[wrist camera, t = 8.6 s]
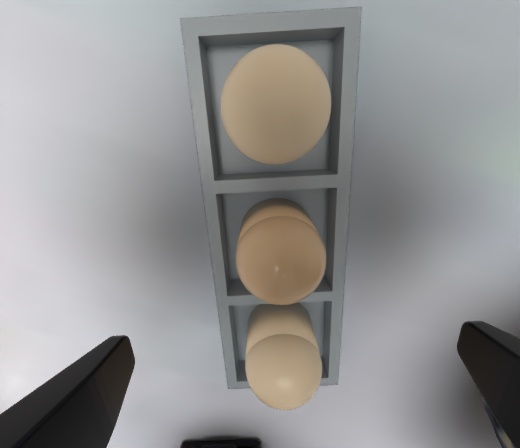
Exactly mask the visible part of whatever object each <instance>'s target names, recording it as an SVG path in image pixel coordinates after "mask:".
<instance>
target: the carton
mask: <svg viewBox="0 0 520 448" xmlns="http://www.w3.org/2000/svg"><path fill="white" fill-rule="evenodd" d="M361 11H362V7H349V8H333V9H318V10H303V11H287V12H272V13H256V14H241V15H226V16H210V17H195V18H180V22H181V30H182V37H183V45H184V53H185V61H186V68H187V76H188V84H189V92H190V99H191V107H192V115H193V122H194V130H195V138H196V146H197V153H198V161H199V169H200V177H201V184H202V192H203V200H204V207H205V215H206V223H207V231H208V238H209V246H210V254H211V262H212V269H213V277H214V285H215V292H216V300H217V308H218V316H219V323H220V331H221V339H222V347H223V354H224V362H225V370H226V377H227V385H228V389H244V388H251V389H252V391H253V392H254V394H255V395H256V396H257V397H258V398H259V399H260V400H261V401H262V402H263V403H265V404H266V405H268V406H270V407H272V408H275V409H278V410H292V409H296V408H299V407H301V406H302V405H304V404H305V403H307V402H308V401H309V400H310V399H311V398H312V397H313V396H314V394H315V393H316V391H317V389H318V387H319V386H323V385H338V376H339V360H340V344H341V328H342V312H343V297H344V281H345V265H346V249H347V233H348V217H349V201H350V185H351V169H352V154H353V138H354V122H355V106H356V90H357V74H358V58H359V42H360V26H361ZM270 198H284V199H288V200H291V201H294V202H295V203H297V204H299V205H300V206H301V207H302V208H303V209H304V210H305V211H306V212H307V214H308V215H309V217H310V219H311V221H312V222H313V224H314V226H315V228H316V230H317V232H318V233H319V235H320V237H321V239H322V241H323V244H324V247H325V251H326V269H325V273H324V276H323V278H322V280H321V282H320V284H319V285H318V287H317V288H316V289H315V290H314V291H313V292H312V293H311V294H310V295H309V296H308V297H306V298H304V299H303V300H301V301H299V302H296V303H293V304H288V305H275V304H270V303H267V302H264V301H262V300H260V299H258V298H257V297H255V296H254V295H253V294H251V293H250V292H249V291H248V290H247V289H246V288H245V286H244V285H243V283H242V281H241V279H240V277H239V275H238V272H237V268H236V249H237V244H238V238H239V233H240V227H241V223H242V220H243V218H244V216H245V215H246V213H247V212H248V211H249V209H250V208H252V207H253V206H254V205H255V204H257V203H259V202H261V201H263V200H266V199H270Z"/></svg>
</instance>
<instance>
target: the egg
mask: <svg viewBox="0 0 520 448" xmlns="http://www.w3.org/2000/svg"><path fill="white" fill-rule="evenodd" d="M236 268H237V272H238V275H239V277H240V279H241V281H242V283H243V285H244V286H245V288H246V289H247V290H248V291H249V292H250V293H251V294H253V295H254V296H255V297H257V298H258V299H260V300H262V301H264V302H267V303H270V304H275V305H288V304H293V303H296V302H299V301H301V300H303V299H304V298H306V297H308V296H309V295H310V294H311V293H312V292H313V291H314V290H315V289H316V288H317V287H318V285H319V284H320V282H321V280H322V278H323V276H324V273H325V269H326V251H325V247H324V244H323V241H322V239H321V237H320V235H319V233H318V232H317V230H316V228H315V226H314V224H313V222H312V221H311V219H310V217H309V215H308V214H307V212H306V211H305V210H304V209H303V208H302V207H301V206H300V205H299V204H297V203H295V202H294V201H291V200H288V199H284V198H270V199H266V200H263V201H261V202H259V203H257V204H255V205H254V206H253V207H252V208H250V209H249V211H248V212H247V213H246V215H245V216H244V218H243V220H242V223H241V227H240V233H239V238H238V244H237V249H236Z"/></svg>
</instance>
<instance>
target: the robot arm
mask: <svg viewBox="0 0 520 448" xmlns="http://www.w3.org/2000/svg"><path fill="white" fill-rule="evenodd" d="M457 350H458V354H459V356H460V358H461V360H462V361H463V363H464V365H465V367H466V368H467V370H468V372H469V374H470V375H471V377H472V379H473V381H474V382H475V384H476V386H477V388H478V389H479V391H480V393H481V395H482V397H483V398H484V400H485V402H486V404H487V405H488V407H489V409H490V410H491V412H492V414H493V415H494V417H495V418H496V420H497V422H498V423H499V425H500V426H501V428H502V429H503V431H504V432H505V434H506V435H507V437H508V438H509V439H510V441H511V442H512V444H513V445H514V447H515V448H520V339H519V338H517V337H515V336H513V335H511V334H509V333H506V332H504V331H502V330H500V329H498V328H496V327H494V326H492V325H489V324H487V323H485V322H482V321H467V322H464V324H463V325H462V327H461V331H460V335H459V339H458V343H457ZM134 365H135V357H134V354H133V350H132V347H131V343H130V340H129V338H128V337H127V336H125V335H123V336H112V337H110V338H108V339H107V340H105V341H104V342H102V343H101V344H99V345H98V346H97V347H95V348H94V349H92V350H91V351H90V352H88V353H87V354H85V355H84V356H82V357H81V358H80V359H78V360H77V361H75V362H74V363H72V364H71V365H70V366H68V367H67V368H65V369H64V370H63V371H61V372H60V373H58V374H57V375H55V376H54V377H53V378H51V379H50V380H48V381H47V382H45V383H44V384H43V385H41V386H40V387H38V388H37V389H36V390H34V391H33V392H31V393H30V394H28V395H27V396H26V397H24V398H23V399H21V400H20V401H18V402H17V403H16V404H14V405H13V406H11V407H10V408H9V409H7V410H6V411H4V412H3V413H1V414H0V448H106V447H107V445H108V443H109V440H110V438H111V435H112V433H113V430H114V427H115V425H116V422H117V419H118V416H119V413H120V410H121V406H122V403H123V400H124V397H125V394H126V391H127V388H128V385H129V382H130V379H131V375H132V372H133V369H134ZM180 448H262V444H261V442H260V441H258V440H241V441H212V442H185V443H182V444H181V447H180Z"/></svg>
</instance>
